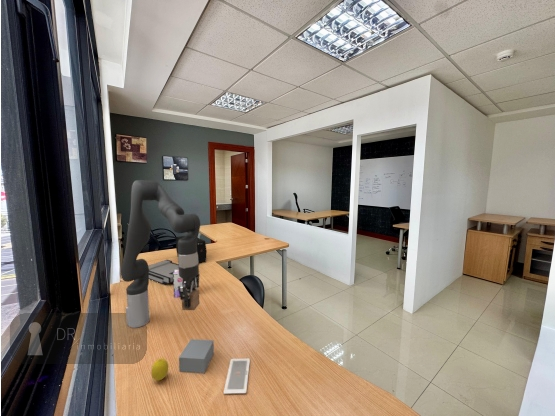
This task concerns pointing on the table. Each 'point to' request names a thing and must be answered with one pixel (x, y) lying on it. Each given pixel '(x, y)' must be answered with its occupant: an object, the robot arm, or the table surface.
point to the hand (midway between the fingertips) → (190, 303)
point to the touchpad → (237, 376)
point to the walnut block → (192, 300)
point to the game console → (162, 272)
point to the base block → (196, 356)
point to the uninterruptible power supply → (200, 249)
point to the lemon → (159, 369)
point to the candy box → (177, 283)
